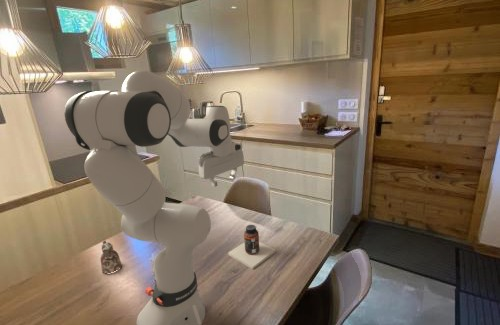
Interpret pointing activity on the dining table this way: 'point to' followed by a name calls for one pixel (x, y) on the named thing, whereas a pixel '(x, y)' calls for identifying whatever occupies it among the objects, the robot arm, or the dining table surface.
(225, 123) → the robot arm
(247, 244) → the supplement bottle
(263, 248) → the plate
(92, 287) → the dining table surface
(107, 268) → the figurine
